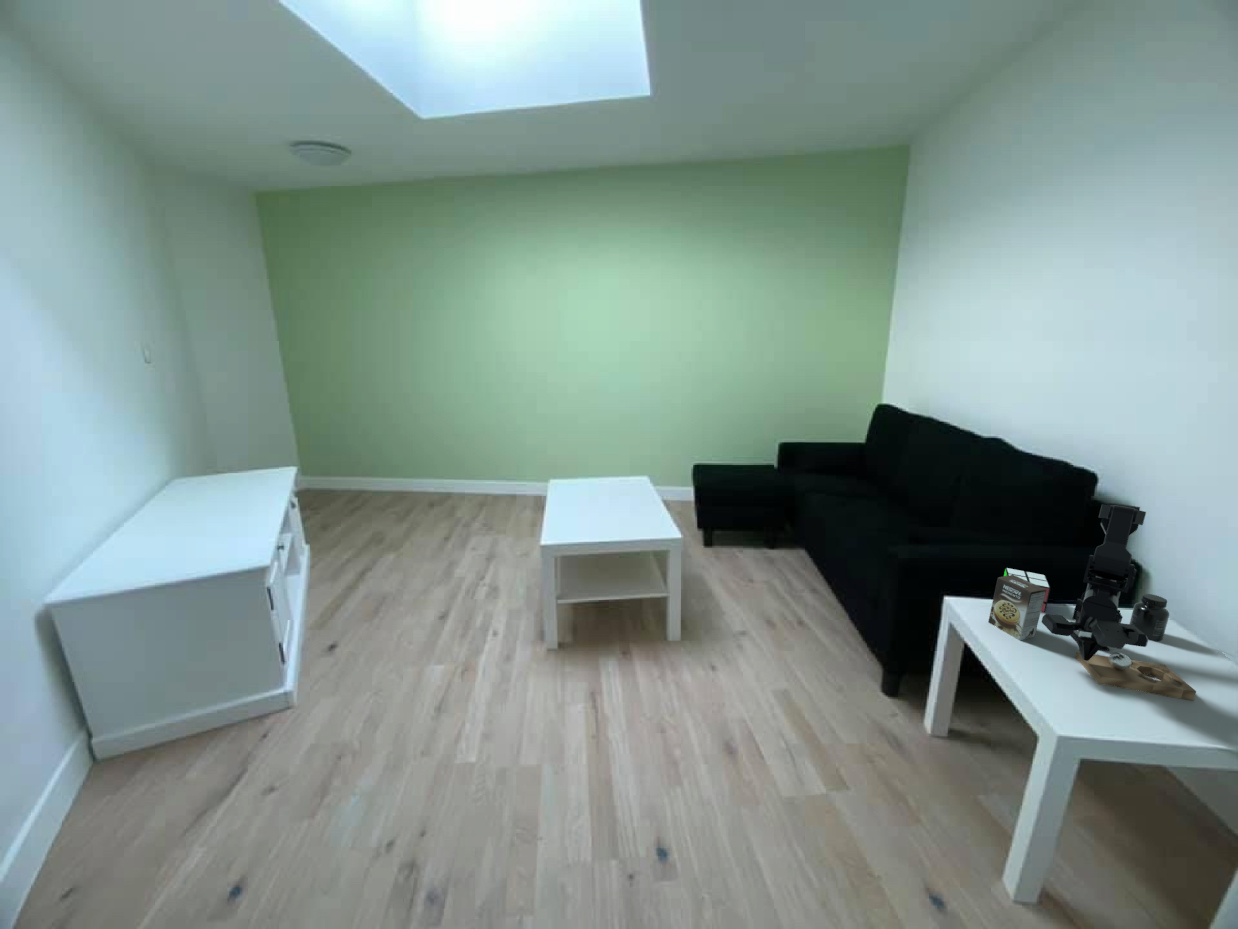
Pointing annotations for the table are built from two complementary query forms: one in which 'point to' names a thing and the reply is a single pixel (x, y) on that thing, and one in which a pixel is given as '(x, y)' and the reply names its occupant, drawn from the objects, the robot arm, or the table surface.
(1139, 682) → the tan hexagonal hole board
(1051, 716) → the table surface
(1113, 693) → the table surface
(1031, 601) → the coffee box
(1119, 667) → the ball
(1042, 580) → the puzzle cube
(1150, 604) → the supplement bottle
